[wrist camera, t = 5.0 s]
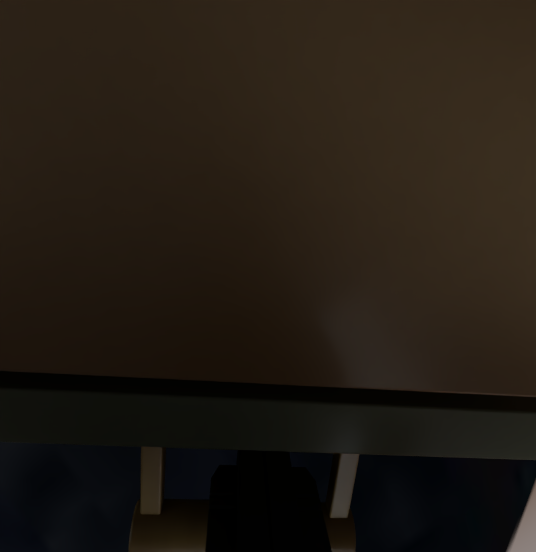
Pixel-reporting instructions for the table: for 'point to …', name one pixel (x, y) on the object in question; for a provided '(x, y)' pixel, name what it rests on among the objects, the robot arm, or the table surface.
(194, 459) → the table surface
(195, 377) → the cabinet
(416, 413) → the drawer
